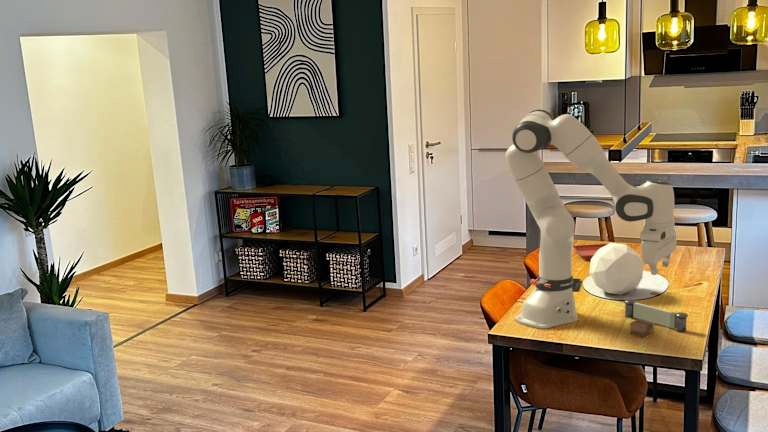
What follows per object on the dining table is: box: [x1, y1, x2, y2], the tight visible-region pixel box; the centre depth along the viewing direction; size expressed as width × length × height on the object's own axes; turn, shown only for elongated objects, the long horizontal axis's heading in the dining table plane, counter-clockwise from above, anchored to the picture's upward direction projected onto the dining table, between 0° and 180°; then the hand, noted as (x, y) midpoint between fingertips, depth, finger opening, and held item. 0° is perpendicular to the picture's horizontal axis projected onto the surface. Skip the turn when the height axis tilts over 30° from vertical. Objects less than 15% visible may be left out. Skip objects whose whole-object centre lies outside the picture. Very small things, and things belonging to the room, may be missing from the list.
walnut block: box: [629, 318, 655, 339], centre depth 226 cm, size 5×5×4 cm
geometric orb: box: [588, 242, 645, 296], centre depth 266 cm, size 19×20×20 cm
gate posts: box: [623, 298, 688, 333], centre depth 234 cm, size 4×23×6 cm, turn 37°
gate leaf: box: [633, 301, 677, 329], centre depth 234 cm, size 1×15×5 cm, turn 37°
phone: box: [572, 277, 582, 293], centre depth 279 cm, size 8×1×15 cm
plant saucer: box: [572, 243, 609, 261], centre depth 320 cm, size 18×18×3 cm
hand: (660, 270), depth 229 cm, fingers open, 8 cm apart
